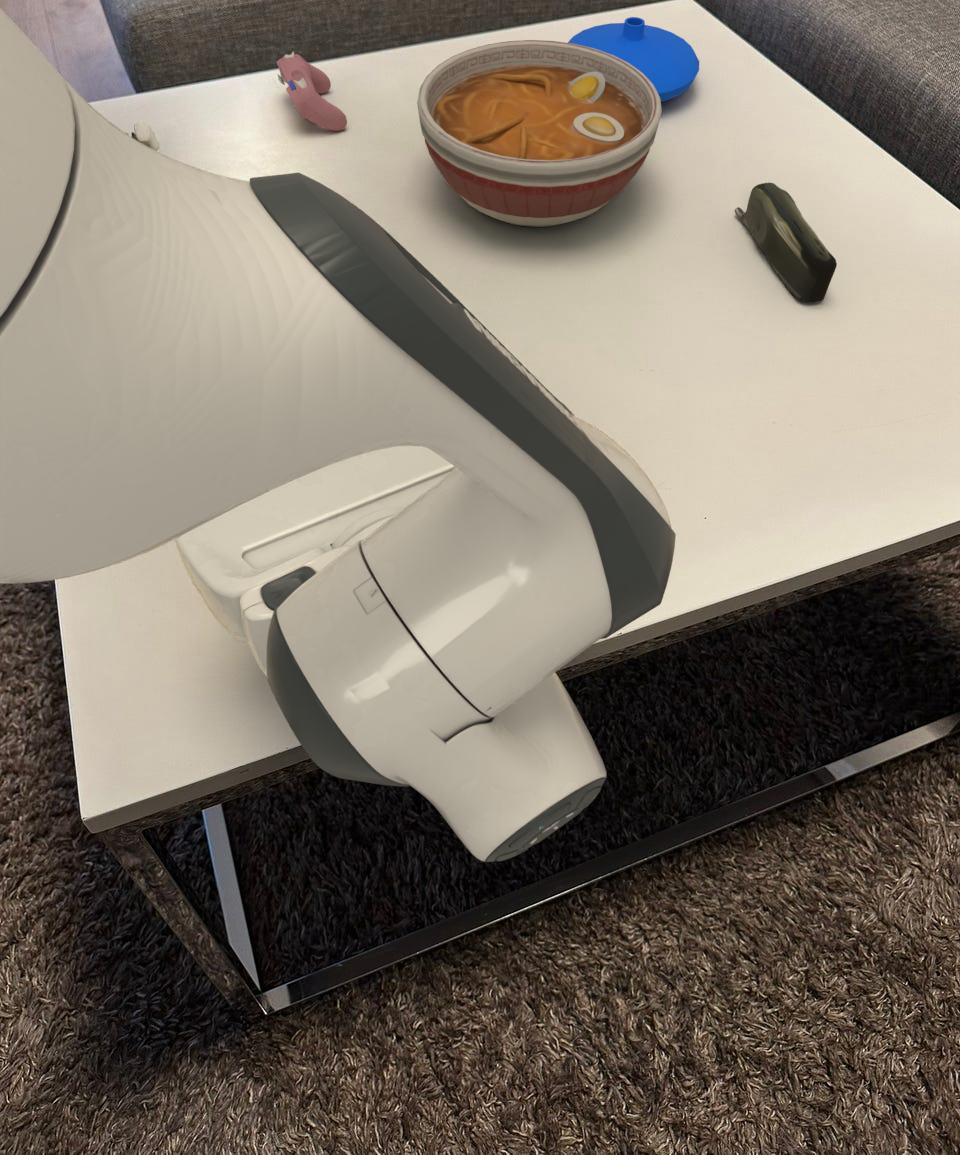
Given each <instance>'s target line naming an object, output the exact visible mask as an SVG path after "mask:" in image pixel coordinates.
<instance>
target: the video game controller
mask: <svg viewBox="0 0 960 1155" xmlns="http://www.w3.org/2000/svg"><path fill="white" fill-rule="evenodd" d="M276 65H277V67H278V69H279V73H280V74H279V73H277V79H278V81H279V83H280V84H281V85H283V86H285V85H286V84H287V87H286V89H285V91H286V92H287V94H288V96H289V98H290V100H291V103H292V105H293V106H294V108H295V110H297V111H298V112H299V114H300V115H301V117H302V118H303V119H306V120H307V121H308V122H309V124H312V123H313V124H315V125H317V126H319V127H321V128H323V129H326V130H330V131H333V132H338V131H342V130H345V128H346V126H347V124H348V119H347V116H346V113H344V112H343V111H342V110H341V109H340V108H339V107H338V106H336V105H334V104H332V103H331V102H329V101H328V100H326V99H325V98H324V97H322V96H321V94H325V93H327V92H329V90H330V89H331V85H332V83H331V79H330V78H329V77H328V75H327V74H326V73H325V72H324V71H322V70H321V69H319V68H318V67H316V66H314V65H313V64H310V63H309V62H308V61H306V60H305V59H304V58H303V57H302V56H301V55H299V54H298V53H295V51H292V52H291V53H290V54H284V56H282V57H281V58H279V59H278V60H277V61H276Z"/></svg>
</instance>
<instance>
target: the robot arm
mask: <svg viewBox="0 0 960 1155" xmlns="http://www.w3.org/2000/svg"><path fill="white" fill-rule="evenodd" d="M126 133H127V132H126V131H124V130H122V129H121V128H119V127H118V126H117V125H115V124H114V123H112V122H111V121H110V120H108V119H107V118H106V117H105V116H103V115H102V113H99V111H97V109H95V108H94V107H93V106H92V105H91V104H90V103H89V102H88V101H87V100H86V99H84V98H83V96H82V95H81V94H80V93H79V92H78V91H76V89H75V88H74V87H73V86H72V85H71V84H70V83H69V81H67V80H66V79H65V78H64V76H62V74H61V73H60V72H59V71H58V70H57V68H56V67H55V65H54V64H53V63H52V62H51V61H50V60H49V59H48V57H47V56H45V55H44V53H43V52H42V51H41V50H40V49H39V48H38V47H37V46H36V44H34V42H32V40H31V39H30V38H29V37H28V36H27V35H26V34H25V33H24V31H22V29H21V28H20V27H19V26H18V25H17V24H16V23H15V22H14V21H13V20H12V18H11V17H10V16H9V15H8V14H7V13H6V12H5V10H3V9H2V7H0V584H32V583H33V584H34V583H43V582H51V581H56V580H62V579H67V578H68V579H69V578H72V577H77V576H81V575H85V574H88V573H92V572H95V571H99V570H102V569H106V568H108V567H109V568H110V567H112V566H115V565H119V564H121V563H124V562H127V561H130V560H132V559H135V558H137V557H139V556H142V555H144V554H147V553H150V552H151V551H154V550H156V549H158V548H160V547H162V546H164V545H167V544H168V543H170V542H172V541H174V543H175V546H176V550H177V552H178V554H179V557H180V559H181V562H182V564H183V566H184V569H185V570H186V573H187V575H188V577H189V579H190V580H191V583H192V584H193V586H194V588H195V590H196V592H197V593H198V595H199V596H200V598H201V599H202V601H203V602H204V604H205V605H206V607H207V608H208V610H209V611H210V612H211V614H212V615H213V617H214V618H215V619H216V621H217V622H218V623H219V624H220V626H221V627H222V628H223V629H224V630H225V631H226V632H227V633H228V634H230V636H232V637H233V638H235V639H236V640H239V641H241V642H244V643H247V644H248V646H249V649H250V651H251V653H252V656H253V659H254V660H255V662H256V664H257V665H258V667H259V669H260V670H261V671H262V673H263V674H264V675H265V677H266V679H267V682H268V685H269V687H270V690H271V692H272V694H273V697H274V699H275V702H276V703H277V705H278V707H279V709H280V711H281V713H282V715H283V716H284V718H285V720H286V722H287V724H288V725H289V727H290V729H291V731H292V733H293V734H294V736H295V738H296V739H297V741H298V743H299V744H300V746H301V747H302V749H303V750H304V751H305V753H306V754H307V756H308V757H309V758H310V759H311V761H312V762H313V763H314V764H315V765H316V766H317V767H319V769H321V770H322V771H324V772H326V773H327V774H329V775H331V776H333V777H335V778H339V779H342V780H350V781H354V782H362V783H369V784H375V785H381V786H382V785H383V786H389V787H390V786H391V787H412V788H413V789H414V790H415V791H416V792H418V793H419V794H420V795H422V796H423V797H424V798H425V799H426V800H428V801H429V803H430V804H432V805H433V807H434V808H435V809H436V810H437V812H439V814H440V815H441V816H442V818H443V819H444V820H445V822H446V823H447V824H448V826H449V827H450V828H451V830H452V831H453V832H454V833H455V834H456V836H457V837H458V839H459V840H460V842H461V843H462V844H463V845H464V846H465V848H466V849H467V850H468V851H469V853H470V854H472V856H473V857H475V858H476V859H477V860H479V861H481V862H483V863H484V862H485V863H490V862H503V861H507V860H510V859H513V858H514V857H517V856H518V855H520V854H523V853H524V852H526V851H528V850H529V848H531V847H533V846H534V845H536V844H539V843H541V842H542V841H544V840H545V839H546V838H548V837H549V836H551V835H552V834H553V833H555V832H556V831H557V830H559V829H561V828H562V827H563V826H564V825H566V824H567V823H568V822H570V821H572V820H573V818H575V817H578V815H580V814H581V813H582V811H583V810H584V809H585V808H588V807H589V806H590V804H592V802H593V801H594V800H595V799H596V798H597V796H598V795H599V793H600V792H601V790H602V787H603V785H604V783H605V781H606V779H607V769H606V767H605V764H604V761H603V759H602V757H601V754H600V752H599V750H598V747H597V745H596V743H595V741H594V739H593V737H592V734H591V733H590V731H589V729H588V727H587V725H586V724H585V722H584V720H583V718H582V716H581V714H580V712H579V710H578V708H577V706H576V704H575V703H574V701H573V699H572V697H571V696H570V694H569V692H568V691H567V688H566V687H565V686H564V684H563V682H562V681H561V679H560V677H559V676H558V674H557V673H556V672H558V671H559V670H560V669H561V668H563V667H564V666H566V665H567V664H569V663H571V661H572V660H574V659H575V658H576V657H578V656H579V655H581V654H582V653H584V652H585V651H586V650H587V649H589V648H591V646H593V645H594V644H596V643H597V642H598V641H599V640H604V639H607V638H608V637H609V638H610V636H612V635H613V634H615V633H616V632H618V631H620V630H621V629H623V628H624V627H626V626H628V625H629V624H632V623H633V622H634V621H636V620H638V619H639V618H641V617H642V616H644V615H645V614H647V613H649V612H650V611H652V610H654V609H655V608H657V607H659V606H660V605H661V604H662V602H663V598H664V595H665V592H666V590H667V586H668V582H669V579H670V574H671V571H672V565H673V562H674V554H675V547H676V536H677V534H676V533H675V531H674V529H673V528H672V523H671V519H670V515H669V513H668V510H667V507H666V504H665V502H664V501H663V499H662V497H661V495H660V493H659V491H658V489H657V488H656V486H655V485H654V483H653V482H652V480H651V479H650V477H649V476H648V475H647V473H646V472H645V470H643V469H642V467H641V465H639V463H638V462H637V461H636V460H635V459H634V458H633V457H632V456H631V454H630V453H629V452H628V451H626V449H624V448H623V446H622V445H620V444H619V443H618V442H617V441H615V440H614V439H613V438H612V437H611V436H610V435H608V434H606V433H605V432H604V431H602V430H600V429H599V428H598V427H596V426H594V425H592V424H591V423H589V422H587V421H586V420H583V419H581V418H580V417H578V416H576V415H575V414H574V413H573V412H572V411H571V410H570V409H569V407H567V406H566V405H565V404H564V403H563V402H562V401H561V400H560V399H559V398H557V397H556V396H555V395H554V394H553V393H552V392H551V391H550V390H549V389H548V388H547V387H546V386H545V385H544V384H543V383H542V382H541V381H539V379H538V378H537V377H535V375H534V374H533V373H532V372H530V370H529V369H528V368H527V367H525V365H524V364H522V362H521V361H520V360H519V359H518V358H517V357H515V355H514V354H513V353H512V352H511V351H510V350H509V349H508V348H507V347H506V346H505V345H504V344H503V343H502V342H501V341H500V340H499V339H498V338H497V337H496V336H495V335H494V334H493V332H491V331H490V330H489V329H488V328H487V327H486V326H485V325H484V324H483V323H482V322H481V321H480V319H478V318H477V317H476V316H475V315H474V314H473V313H472V312H471V311H470V310H469V309H468V308H467V306H465V304H463V303H462V302H461V301H460V300H459V299H458V298H457V297H456V296H455V295H454V294H453V293H452V292H451V291H450V290H449V289H448V288H447V287H446V286H445V285H444V284H442V282H441V281H440V280H439V279H438V278H437V277H436V276H434V274H433V273H431V271H430V270H428V269H427V268H426V267H425V266H424V265H423V263H421V262H420V261H419V260H418V259H417V258H416V257H415V256H413V254H411V253H410V252H409V251H408V250H407V249H406V248H405V247H404V246H403V245H402V243H400V242H399V241H398V240H397V239H396V238H394V237H393V236H392V235H391V234H390V233H389V232H388V231H387V230H386V229H385V228H384V227H383V226H381V225H380V224H379V223H378V222H377V221H375V219H373V218H372V217H371V216H370V215H369V214H367V213H366V212H365V211H364V210H362V209H361V208H359V207H358V206H357V205H355V204H354V203H352V202H351V201H350V200H348V199H347V198H346V197H344V196H343V195H341V194H339V193H338V192H336V191H334V190H333V189H331V188H329V187H328V186H326V185H324V184H323V183H321V182H319V181H317V180H315V179H313V178H311V177H309V176H307V175H305V174H303V173H301V172H291V173H283V174H274V175H273V174H272V175H266V176H265V175H263V176H255V177H250V179H249V180H245V179H239V178H234V177H231V176H226V175H221V174H217V173H213V172H210V171H207V170H204V169H201V168H197V167H195V166H192V165H189V164H186V163H184V162H181V161H179V160H177V159H174V158H172V157H169V156H168V155H165V154H163V153H162V152H159V151H158V150H157V151H155V150H153V149H151V148H149V147H147V146H146V145H144V144H142V143H140V142H139V141H137V140H135V139H134V138H132V135H130V134H129V133H128V134H129V135H128V134H126Z"/></svg>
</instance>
